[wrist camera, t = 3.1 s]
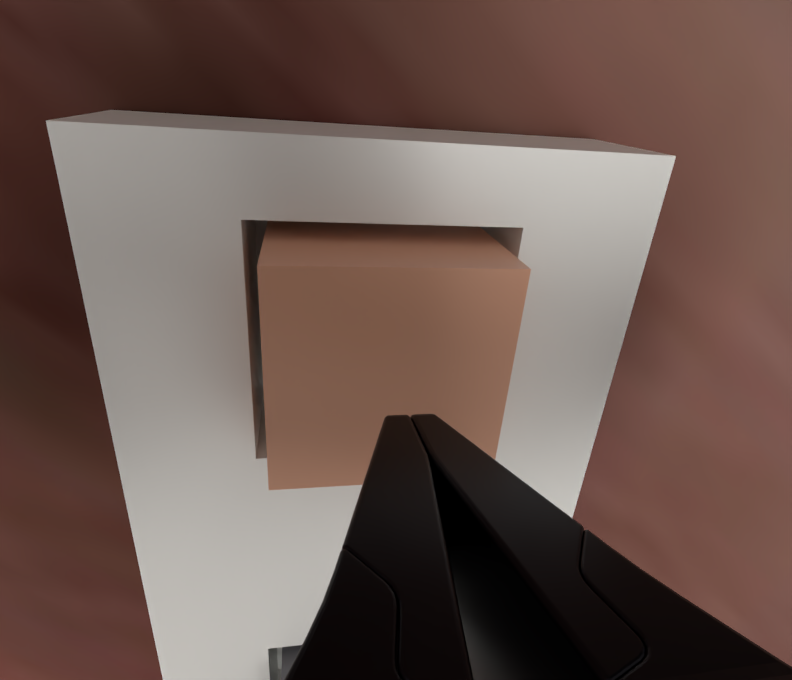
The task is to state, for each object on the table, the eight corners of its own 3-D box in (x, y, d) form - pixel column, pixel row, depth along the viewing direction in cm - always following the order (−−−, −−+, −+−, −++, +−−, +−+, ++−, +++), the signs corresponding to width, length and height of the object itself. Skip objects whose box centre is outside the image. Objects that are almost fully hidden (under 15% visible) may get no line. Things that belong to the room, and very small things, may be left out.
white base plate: (480, 656, 24) (507, 742, 21) (203, 689, 22) (186, 791, 18) (593, 138, 14) (676, 155, 11) (111, 110, 12) (45, 120, 9)
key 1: (455, 401, 15) (491, 477, 12) (275, 407, 14) (268, 490, 11) (479, 226, 13) (531, 269, 10) (267, 220, 12) (257, 265, 9)
